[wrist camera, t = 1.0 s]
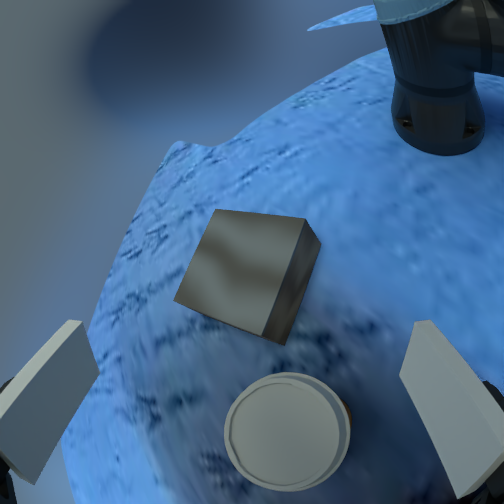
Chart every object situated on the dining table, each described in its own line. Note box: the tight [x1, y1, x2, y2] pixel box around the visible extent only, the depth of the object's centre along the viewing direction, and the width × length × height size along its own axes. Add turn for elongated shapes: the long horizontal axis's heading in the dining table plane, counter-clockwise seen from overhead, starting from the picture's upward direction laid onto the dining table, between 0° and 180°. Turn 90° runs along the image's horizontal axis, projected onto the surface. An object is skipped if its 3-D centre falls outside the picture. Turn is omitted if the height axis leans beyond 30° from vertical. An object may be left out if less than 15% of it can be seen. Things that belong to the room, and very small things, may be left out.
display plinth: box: [173, 209, 321, 345], centre depth 36 cm, size 13×13×6 cm
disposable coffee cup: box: [224, 372, 352, 492], centre depth 22 cm, size 10×10×12 cm
